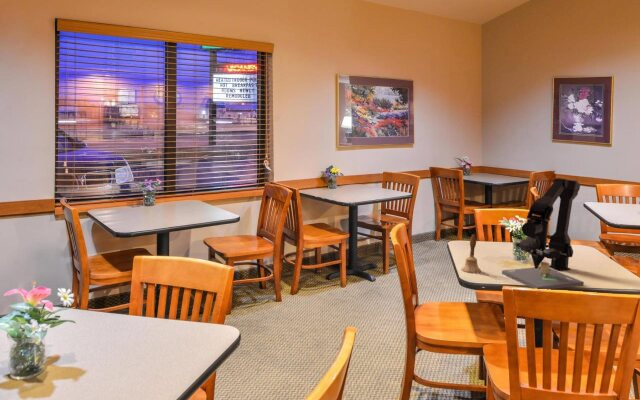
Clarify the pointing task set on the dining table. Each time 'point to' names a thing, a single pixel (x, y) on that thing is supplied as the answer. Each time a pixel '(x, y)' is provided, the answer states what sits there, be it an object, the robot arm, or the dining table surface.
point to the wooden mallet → (544, 268)
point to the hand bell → (471, 259)
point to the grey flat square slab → (542, 278)
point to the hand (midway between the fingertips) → (536, 268)
